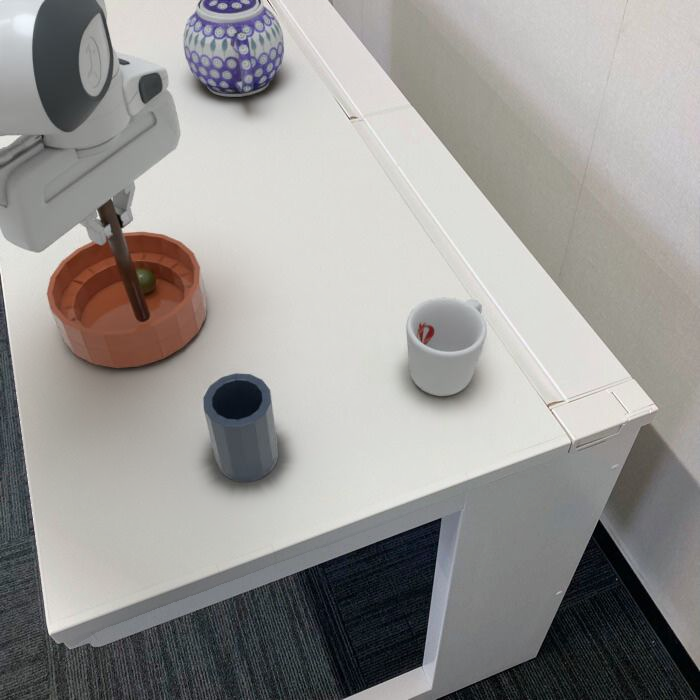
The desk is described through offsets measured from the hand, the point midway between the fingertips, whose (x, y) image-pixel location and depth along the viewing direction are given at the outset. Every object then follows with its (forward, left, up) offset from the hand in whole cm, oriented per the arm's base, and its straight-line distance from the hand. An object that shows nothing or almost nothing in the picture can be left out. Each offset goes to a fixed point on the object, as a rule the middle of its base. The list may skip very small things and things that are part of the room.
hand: (112, 231), depth 76 cm
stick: (0, -1, -12) cm, 12 cm away
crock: (-8, -20, -15) cm, 26 cm away
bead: (+5, +4, -12) cm, 14 cm away
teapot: (+50, +23, -15) cm, 57 cm away
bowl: (+1, +2, -15) cm, 15 cm away
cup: (+12, -32, -15) cm, 37 cm away
